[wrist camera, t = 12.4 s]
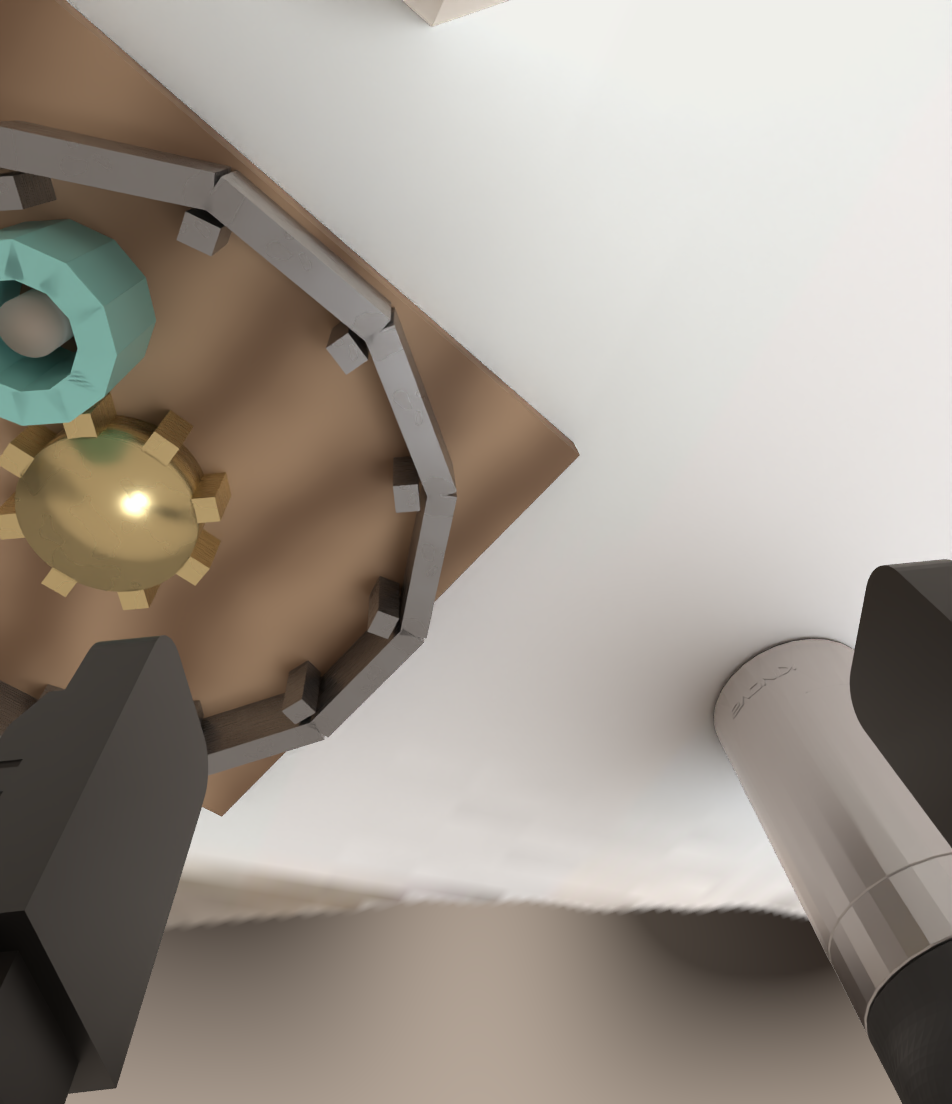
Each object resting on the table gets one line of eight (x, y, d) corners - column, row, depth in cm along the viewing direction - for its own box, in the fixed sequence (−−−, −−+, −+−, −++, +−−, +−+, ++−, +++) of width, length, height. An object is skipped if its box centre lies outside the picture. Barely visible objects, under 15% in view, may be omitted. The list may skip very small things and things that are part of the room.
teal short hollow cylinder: (173, 267, 30) (135, 294, 26) (128, 404, 33) (87, 450, 28) (6, 189, 29) (-65, 204, 24) (-28, 340, 31) (-98, 379, 27)
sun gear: (271, 480, 35) (262, 505, 33) (161, 612, 38) (146, 643, 35) (83, 348, 32) (60, 367, 29) (-22, 504, 34) (-51, 531, 32)
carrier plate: (573, 442, 37) (599, 493, 32) (226, 796, 46) (206, 877, 41) (-23, -77, 26) (-117, -117, 21) (-325, 515, 35) (-440, 580, 30)
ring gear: (570, 455, 36) (583, 483, 33) (220, 810, 44) (209, 855, 42) (-40, -69, 25) (-91, -89, 22) (-342, 530, 34) (-404, 566, 31)
